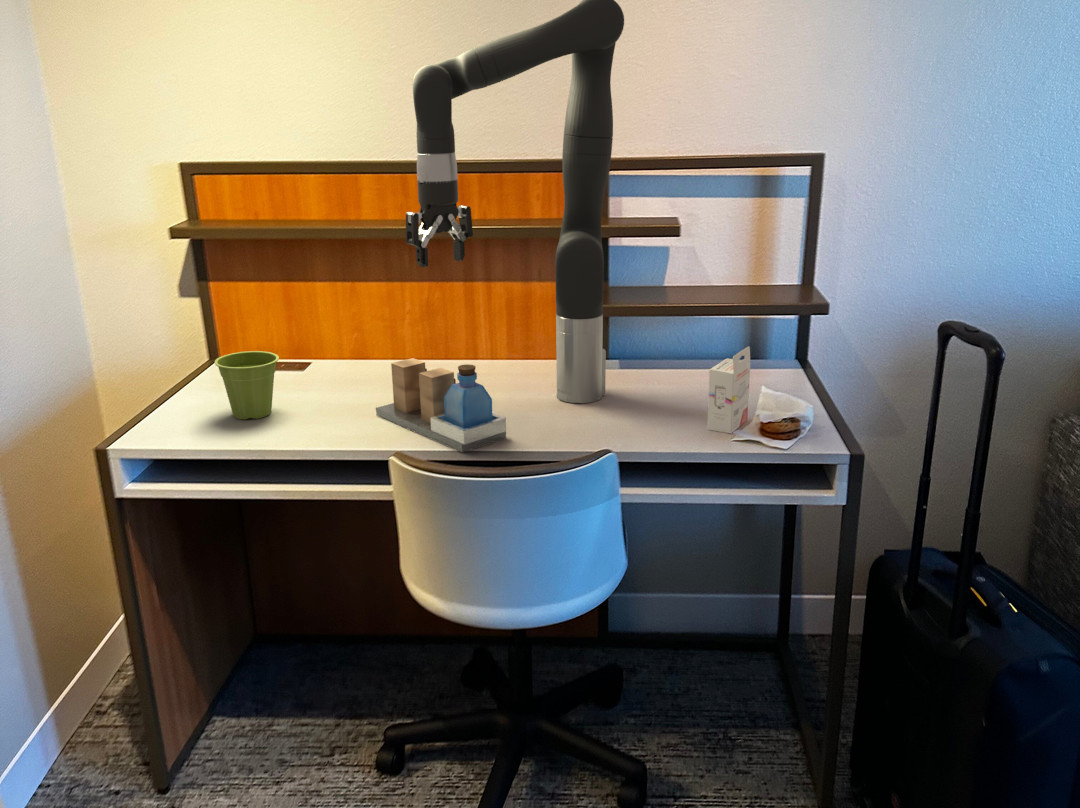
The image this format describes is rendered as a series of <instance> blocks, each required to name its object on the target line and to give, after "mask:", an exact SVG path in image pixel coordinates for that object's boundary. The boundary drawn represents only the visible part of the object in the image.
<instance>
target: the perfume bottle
mask: <svg viewBox="0 0 1080 808" xmlns="http://www.w3.org/2000/svg"><path fill="white" fill-rule="evenodd" d="M476 368H477V367H476V365H473V364H461V365H458V366H457V370H458V372H457V375H456V378H457V381H458V382H457V383H456V384H452V385H451V387H450V388H449V390H448V392H447V393H446V395H445V396H444V409H445V421H446V422H448V423H451V424H453V425H456V426H458V427H461V428H463V429H466V428H469V427H472V426H475V425H479V424H482V423H485V422H488V421H492V420H493V415H492V413H493V398H492V397H491V395H490V394H489V393H488V390H487V389H486V388H485V386H484V385H483V384H480V383H478V382H476V381H477V378H478V375H477V374H478V373H477V371H476Z"/></svg>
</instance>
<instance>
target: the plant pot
mask: <svg viewBox="0 0 1080 808" xmlns="http://www.w3.org/2000/svg"><path fill="white" fill-rule="evenodd" d="M279 360H280V358H279V355H278V354H276V353H273V352H270V351H260V350H251V351H250V350H249V351H248V350H247V351H239V352H233V353H229V354H228V353H227V354H225V355H222V356H220V357H217V358H216V359H215V360H214V365H215V366H217V367H218V370H219V373H220V376H221V378H222V380H223V384H224V388H225V391H226V394H227V398H228V401H229V402H228V403H229V406H230V408H231V409H230V410H231V412H232V415H233V417H234V418H236V419H240V420H248V419H254V420H255V419H262V418H265V417H267V415H268V416H269V415H271V413H272V407H273V393H274V383H275V382H274V380H275V373H276V368H277V362H278V361H279Z"/></svg>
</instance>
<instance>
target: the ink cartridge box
mask: <svg viewBox="0 0 1080 808" xmlns="http://www.w3.org/2000/svg"><path fill="white" fill-rule="evenodd" d="M742 357H744V358H742ZM741 358H742V360H741ZM708 374H709V375H708V376H709V377H708V402H707V403H708V405H707V428H706V429H707V431H713V432H720V433H724V434H729V433H731V434H733V433H734V432H735V431H736V430H737V429H738V428H740V427H741V426H742V425H743V424H744V423H746V422H747V420H748V414H749V413H748V412H749V411H748V410H749V395H750V379H751V347H750V346H749V345H748V346H747V347H745V348H743V349H742V350H740V351H739V352H737V353H736V354H734V355H733V357H732V358H725V359H724V360H722V361H720V362H719V363H717V364H716V365H714V366H712V367H711V368H709V370H708ZM732 432H733V433H732Z"/></svg>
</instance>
